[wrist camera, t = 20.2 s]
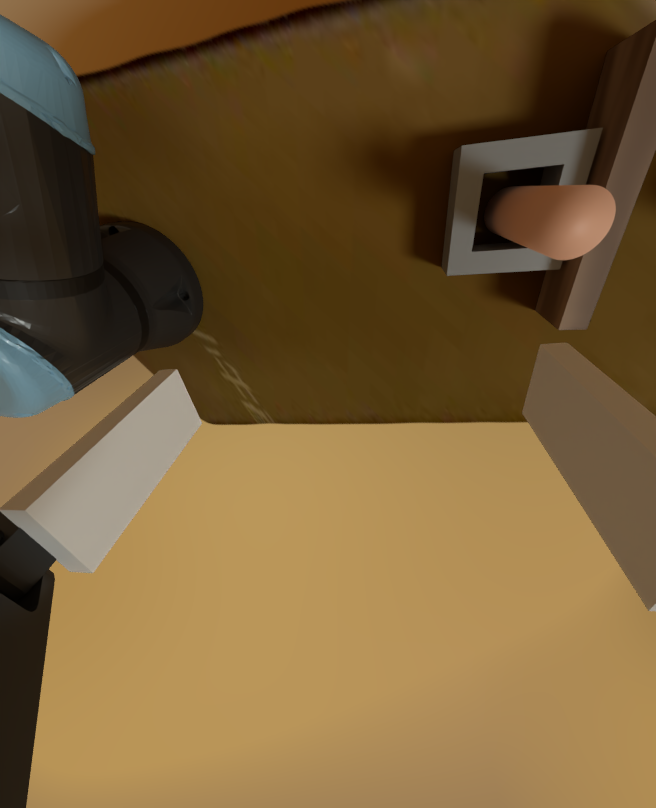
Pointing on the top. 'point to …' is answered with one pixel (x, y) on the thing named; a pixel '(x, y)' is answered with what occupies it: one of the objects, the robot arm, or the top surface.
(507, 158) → the grey square frame
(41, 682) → the robot arm
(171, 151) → the top surface
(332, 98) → the top surface
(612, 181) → the wall
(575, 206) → the dowel
